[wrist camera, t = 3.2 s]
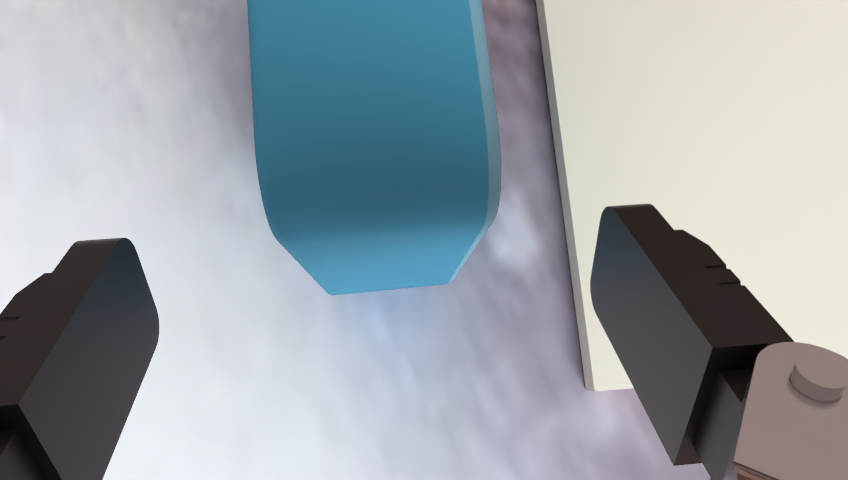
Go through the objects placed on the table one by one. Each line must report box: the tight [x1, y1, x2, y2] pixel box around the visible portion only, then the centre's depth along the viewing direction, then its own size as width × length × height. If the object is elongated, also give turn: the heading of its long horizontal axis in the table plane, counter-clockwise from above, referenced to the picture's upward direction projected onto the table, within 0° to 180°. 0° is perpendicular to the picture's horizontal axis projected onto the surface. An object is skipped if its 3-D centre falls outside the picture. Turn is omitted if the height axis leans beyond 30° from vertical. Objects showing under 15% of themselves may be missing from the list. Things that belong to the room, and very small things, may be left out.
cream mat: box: [536, 0, 848, 391], centre depth 23 cm, size 14×18×1 cm
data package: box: [247, 0, 501, 295], centre depth 18 cm, size 12×4×12 cm, turn 6°
